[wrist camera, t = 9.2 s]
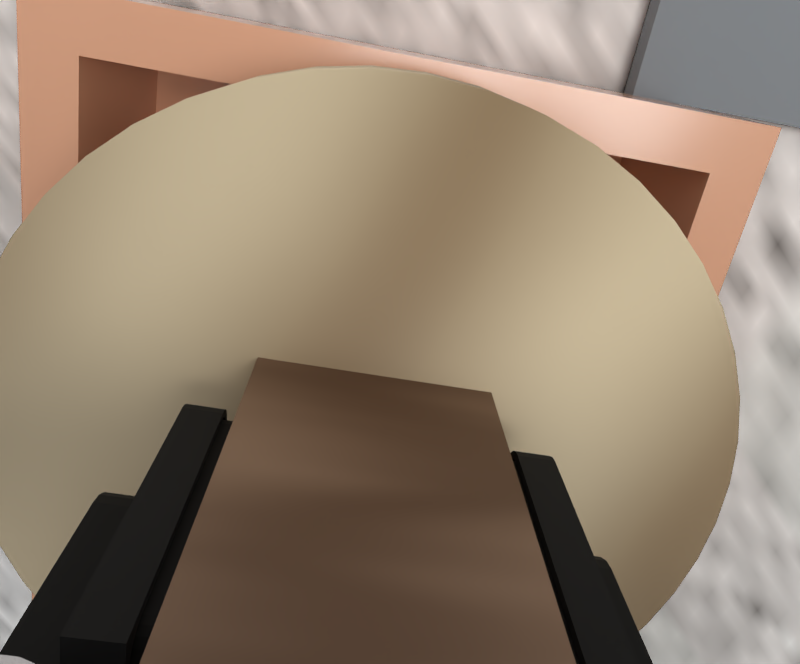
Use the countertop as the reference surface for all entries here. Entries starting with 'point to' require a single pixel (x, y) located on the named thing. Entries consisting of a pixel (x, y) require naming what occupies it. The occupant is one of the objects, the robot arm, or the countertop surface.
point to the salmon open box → (295, 49)
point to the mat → (722, 57)
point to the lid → (365, 367)
